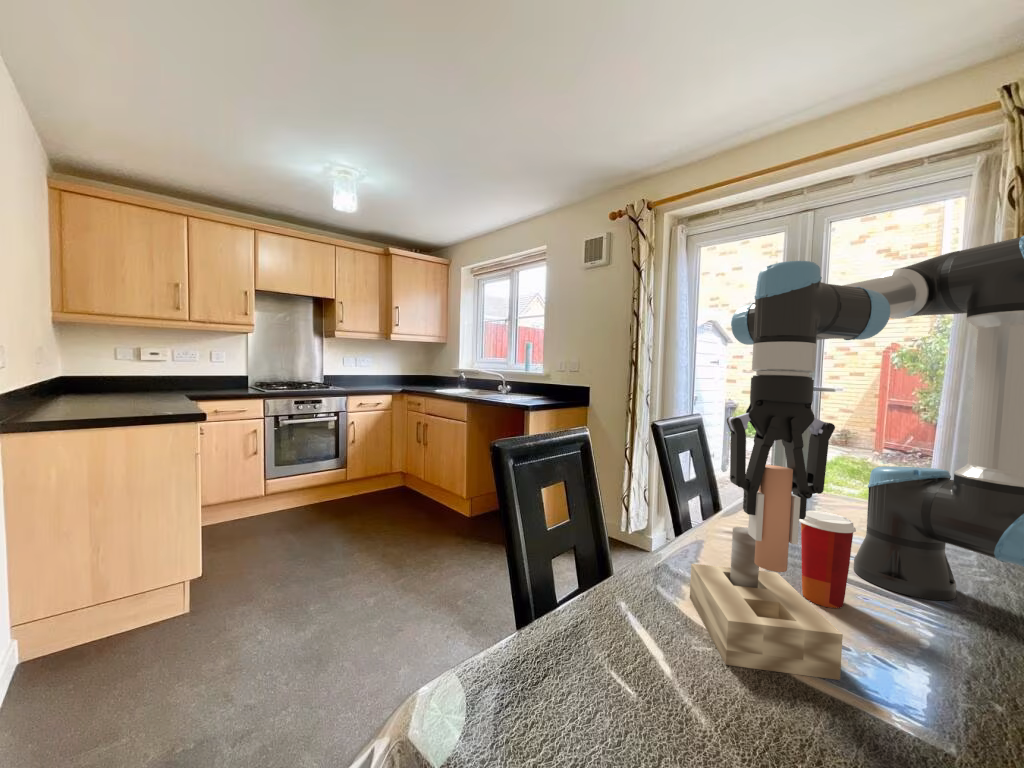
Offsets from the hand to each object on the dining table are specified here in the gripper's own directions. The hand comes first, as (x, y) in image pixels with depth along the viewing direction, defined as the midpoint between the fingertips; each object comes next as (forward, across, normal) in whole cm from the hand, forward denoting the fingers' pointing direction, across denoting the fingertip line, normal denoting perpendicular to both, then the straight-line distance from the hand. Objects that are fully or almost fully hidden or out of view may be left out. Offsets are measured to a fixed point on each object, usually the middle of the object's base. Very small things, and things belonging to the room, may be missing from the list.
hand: (772, 538), depth 60 cm
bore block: (+16, 0, -5) cm, 17 cm away
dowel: (+4, 0, 0) cm, 4 cm away
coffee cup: (+16, -17, -19) cm, 30 cm away
